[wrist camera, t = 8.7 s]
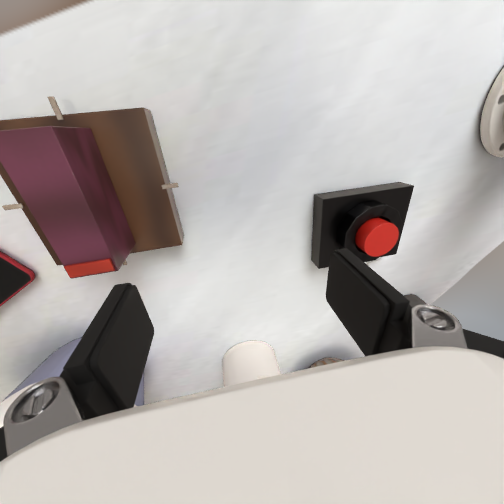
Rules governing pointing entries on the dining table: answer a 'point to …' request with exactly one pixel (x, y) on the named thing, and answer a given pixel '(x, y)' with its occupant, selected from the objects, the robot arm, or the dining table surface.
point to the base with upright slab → (249, 362)
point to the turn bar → (69, 196)
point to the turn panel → (120, 172)
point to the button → (376, 237)
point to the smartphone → (12, 277)
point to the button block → (355, 218)
